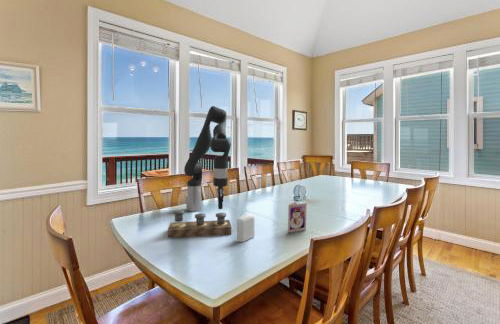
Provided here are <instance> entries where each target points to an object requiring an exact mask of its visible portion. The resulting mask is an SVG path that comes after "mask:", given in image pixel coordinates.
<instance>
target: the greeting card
mask: <svg viewBox="0 0 500 324" xmlns="http://www.w3.org/2000/svg"><path fill="white" fill-rule="evenodd" d="M287 211H288V214H287V215H288V217H287V218H288V222H287V233H288V234H289V232H290V233H294V232H295V231H296V232H301V231H306V230H307V203H304V202H303V203H298V202H297V200H295V201H294V202H292V203H289V204H288V210H287Z"/></svg>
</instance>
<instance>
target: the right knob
mask: <svg viewBox="0 0 500 324" xmlns="http://www.w3.org/2000/svg"><path fill="white" fill-rule="evenodd" d="M215 217H216V220H217V224H225V220H226V217H227V213H226V212H216V213H215Z"/></svg>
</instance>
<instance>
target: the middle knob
mask: <svg viewBox="0 0 500 324" xmlns="http://www.w3.org/2000/svg"><path fill="white" fill-rule="evenodd" d="M206 216H207V215H206V213H195V214H194V218H196V219H195V221H196V225H204V221H205V218H206Z"/></svg>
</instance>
